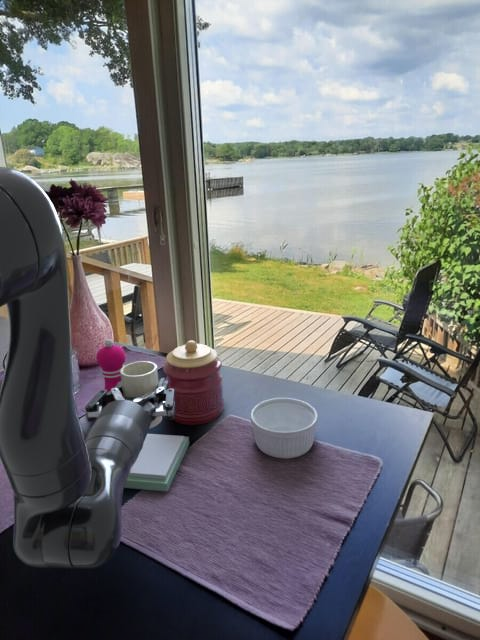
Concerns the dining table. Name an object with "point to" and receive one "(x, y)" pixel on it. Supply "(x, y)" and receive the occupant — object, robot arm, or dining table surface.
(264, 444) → the ramekin
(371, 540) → the dining table surface
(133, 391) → the cup
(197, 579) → the dining table surface
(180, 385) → the kitchen canister
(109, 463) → the robot arm
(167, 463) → the scale
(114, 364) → the pepper mill
